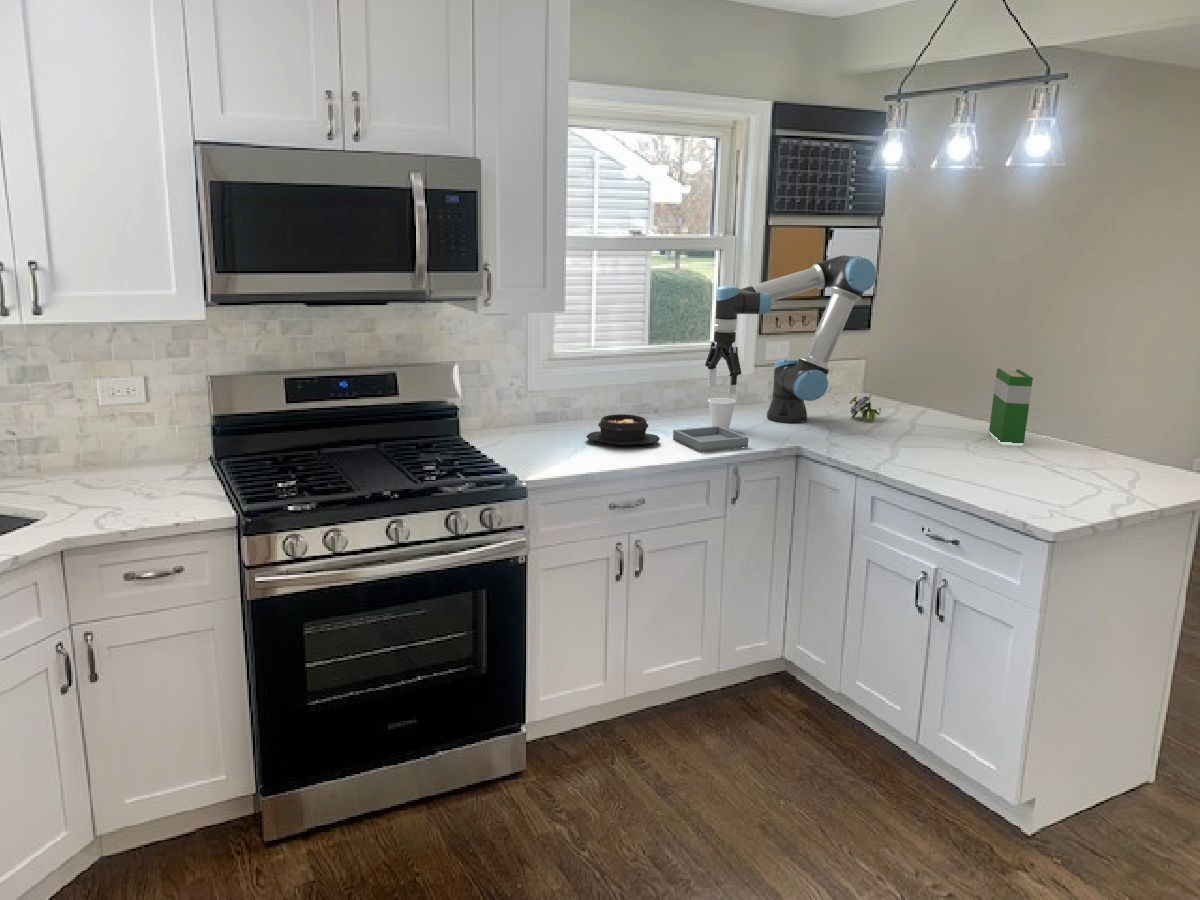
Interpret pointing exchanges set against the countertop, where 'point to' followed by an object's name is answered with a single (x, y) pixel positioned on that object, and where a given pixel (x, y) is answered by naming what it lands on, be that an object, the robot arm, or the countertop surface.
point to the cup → (721, 411)
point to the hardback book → (1010, 405)
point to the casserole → (623, 431)
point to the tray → (710, 438)
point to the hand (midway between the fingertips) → (721, 390)
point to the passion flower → (861, 405)
